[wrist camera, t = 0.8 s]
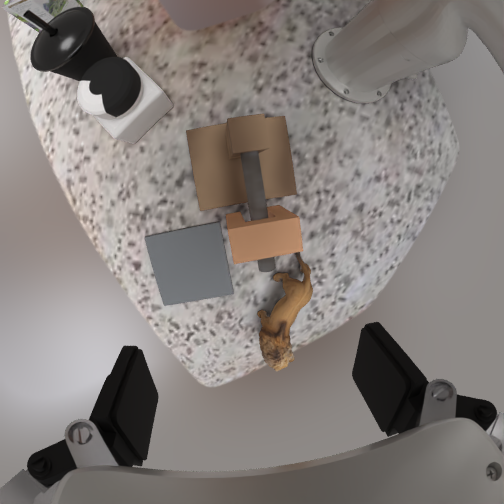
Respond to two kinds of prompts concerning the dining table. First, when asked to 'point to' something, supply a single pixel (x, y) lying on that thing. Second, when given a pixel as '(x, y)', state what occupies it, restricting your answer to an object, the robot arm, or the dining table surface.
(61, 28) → the drinking cup
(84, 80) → the medicine bottle
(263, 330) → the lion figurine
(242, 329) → the dining table surface
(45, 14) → the syrup box
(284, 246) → the c link
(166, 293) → the slate mat
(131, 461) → the robot arm
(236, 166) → the stand
